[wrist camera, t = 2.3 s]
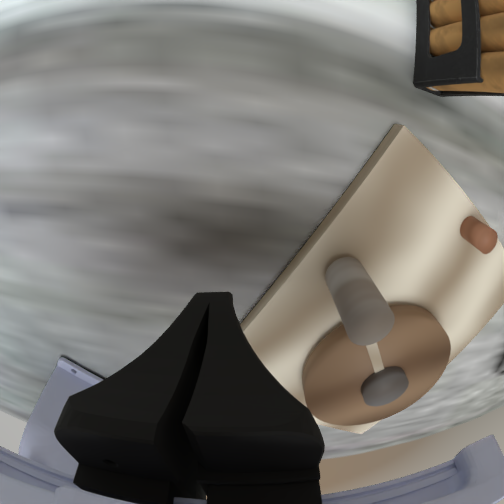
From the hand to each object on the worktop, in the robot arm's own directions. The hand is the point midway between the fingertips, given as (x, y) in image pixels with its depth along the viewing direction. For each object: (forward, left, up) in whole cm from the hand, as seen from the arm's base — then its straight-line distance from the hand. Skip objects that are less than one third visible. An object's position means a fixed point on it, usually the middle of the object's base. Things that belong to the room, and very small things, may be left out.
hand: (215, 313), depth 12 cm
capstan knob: (+10, 0, -3) cm, 11 cm away
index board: (+11, +1, -5) cm, 12 cm away
